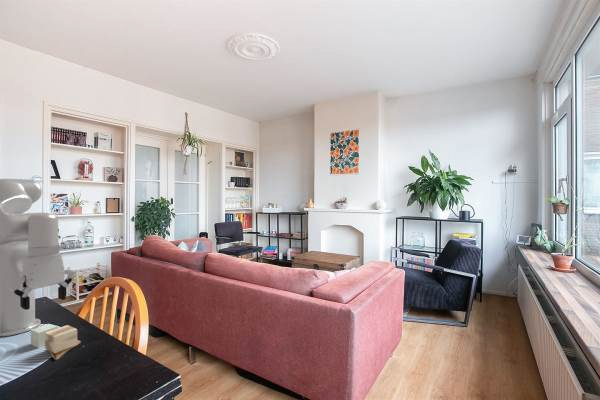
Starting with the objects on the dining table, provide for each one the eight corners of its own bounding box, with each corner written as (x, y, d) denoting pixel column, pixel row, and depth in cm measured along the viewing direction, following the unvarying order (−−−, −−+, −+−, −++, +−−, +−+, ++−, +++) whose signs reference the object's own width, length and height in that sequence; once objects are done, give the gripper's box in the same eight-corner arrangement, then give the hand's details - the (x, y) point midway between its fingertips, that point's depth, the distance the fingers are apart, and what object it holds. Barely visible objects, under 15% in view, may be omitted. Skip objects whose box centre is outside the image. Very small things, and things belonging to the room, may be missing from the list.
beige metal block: (45, 348, 91) (44, 332, 91) (67, 340, 96) (67, 325, 96) (54, 353, 88) (54, 337, 88) (77, 344, 93) (77, 329, 93)
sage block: (30, 345, 95) (30, 329, 95) (49, 338, 100) (49, 323, 100) (38, 348, 93) (38, 332, 93) (57, 341, 98) (57, 326, 98)
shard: (55, 363, 86) (55, 357, 86) (28, 363, 86) (28, 357, 86) (81, 344, 97) (81, 339, 97) (57, 344, 97) (57, 339, 97)
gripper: (67, 246, 105) (68, 294, 105) (2, 255, 90) (3, 311, 90) (79, 248, 102) (80, 297, 102) (14, 257, 87) (15, 315, 87)
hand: (44, 303), depth 96 cm, fingers open, 9 cm apart
